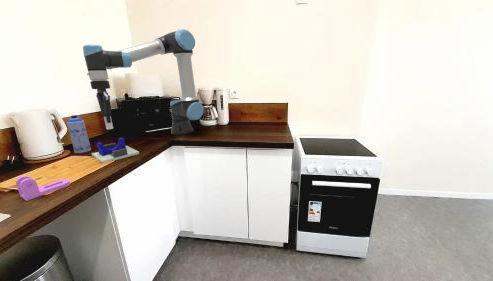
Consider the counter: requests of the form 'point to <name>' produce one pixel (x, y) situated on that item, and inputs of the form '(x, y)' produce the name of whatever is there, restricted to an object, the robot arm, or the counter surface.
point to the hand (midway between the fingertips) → (109, 128)
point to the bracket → (31, 189)
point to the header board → (107, 157)
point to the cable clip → (105, 151)
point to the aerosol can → (78, 135)
